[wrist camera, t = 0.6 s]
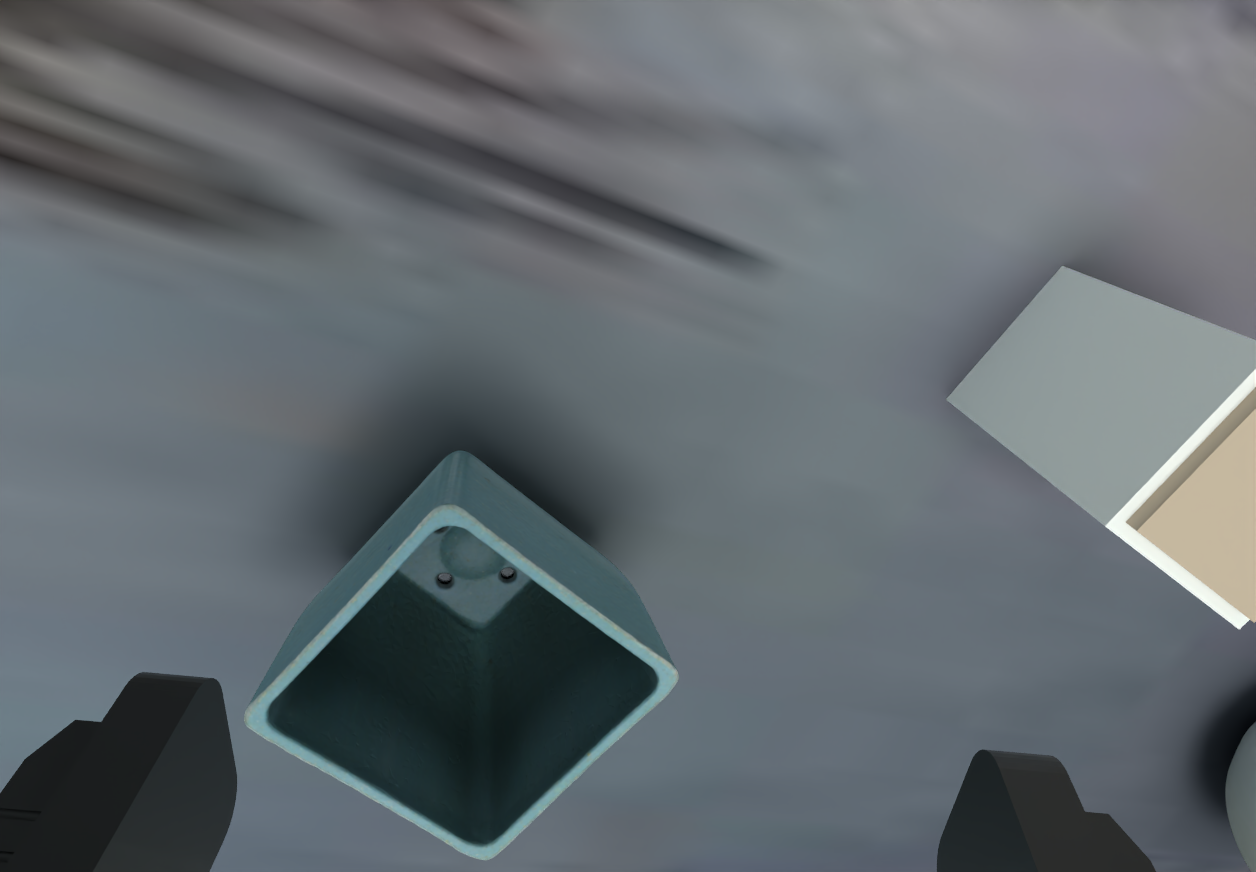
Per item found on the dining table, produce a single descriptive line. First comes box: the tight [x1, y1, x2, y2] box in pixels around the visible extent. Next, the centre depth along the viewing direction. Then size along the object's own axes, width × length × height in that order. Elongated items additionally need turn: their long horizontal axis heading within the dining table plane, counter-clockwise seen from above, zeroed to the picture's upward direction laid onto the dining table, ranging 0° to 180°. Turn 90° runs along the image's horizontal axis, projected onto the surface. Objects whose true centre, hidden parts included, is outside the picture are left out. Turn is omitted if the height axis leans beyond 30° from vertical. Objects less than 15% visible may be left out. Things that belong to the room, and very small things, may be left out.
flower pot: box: [244, 451, 679, 860], centre depth 30 cm, size 9×9×9 cm
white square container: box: [946, 266, 1256, 629], centre depth 30 cm, size 6×6×10 cm
